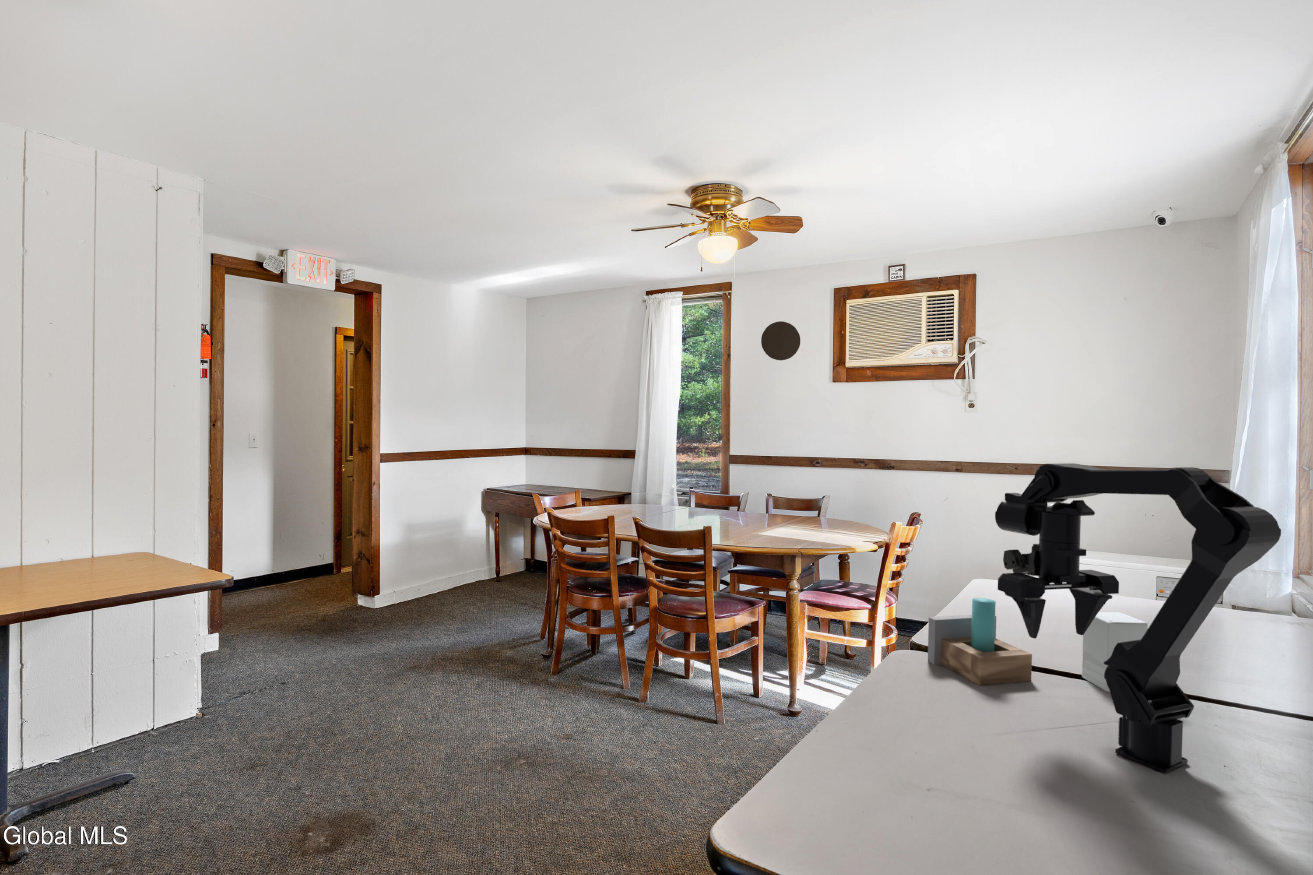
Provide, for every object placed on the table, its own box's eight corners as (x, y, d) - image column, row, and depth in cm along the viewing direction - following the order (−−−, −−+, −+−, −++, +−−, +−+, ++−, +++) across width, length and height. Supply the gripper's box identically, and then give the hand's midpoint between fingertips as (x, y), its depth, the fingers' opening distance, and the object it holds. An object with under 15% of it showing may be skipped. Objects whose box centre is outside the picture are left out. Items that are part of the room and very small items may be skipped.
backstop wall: (995, 660, 136) (996, 616, 135) (934, 665, 132) (935, 619, 132) (988, 657, 138) (989, 613, 137) (927, 662, 134) (928, 617, 134)
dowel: (996, 670, 127) (998, 603, 127) (973, 668, 128) (975, 602, 128) (990, 663, 131) (991, 598, 131) (968, 661, 132) (969, 597, 132)
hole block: (1031, 680, 125) (1031, 654, 124) (979, 685, 122) (980, 657, 122) (988, 660, 135) (989, 635, 135) (940, 664, 133) (941, 638, 133)
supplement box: (1147, 693, 120) (1149, 623, 120) (1105, 692, 120) (1107, 622, 120) (1120, 678, 127) (1122, 611, 127) (1080, 677, 128) (1082, 610, 127)
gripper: (1066, 531, 120) (1063, 618, 120) (975, 533, 115) (973, 624, 116) (1123, 542, 109) (1120, 638, 109) (1025, 545, 104) (1022, 645, 105)
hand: (1056, 636), depth 110 cm, fingers open, 9 cm apart
